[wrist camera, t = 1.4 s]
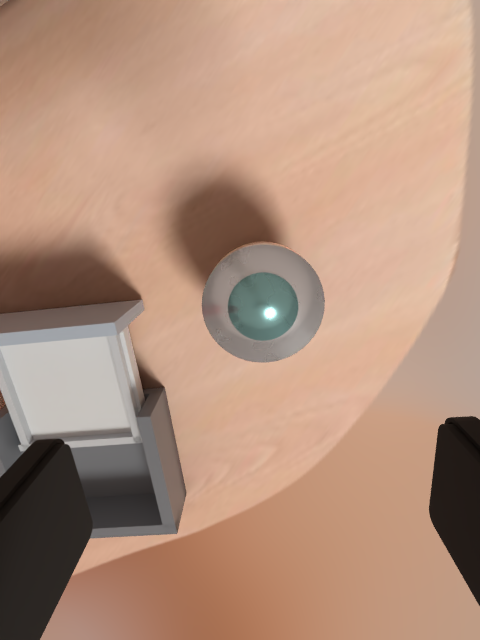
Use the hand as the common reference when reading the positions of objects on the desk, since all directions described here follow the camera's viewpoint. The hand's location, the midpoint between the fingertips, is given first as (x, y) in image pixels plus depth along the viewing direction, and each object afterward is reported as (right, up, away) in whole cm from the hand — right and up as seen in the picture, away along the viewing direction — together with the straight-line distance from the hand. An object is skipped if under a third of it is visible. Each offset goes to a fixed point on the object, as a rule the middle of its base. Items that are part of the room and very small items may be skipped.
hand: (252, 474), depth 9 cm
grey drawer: (-13, 0, +18) cm, 22 cm away
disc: (+1, +5, +12) cm, 13 cm away
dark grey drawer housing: (-12, -7, +21) cm, 25 cm away
